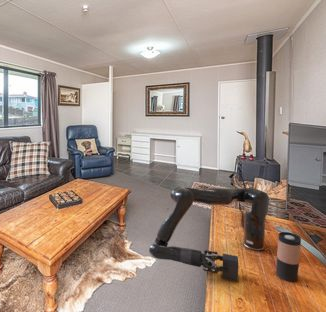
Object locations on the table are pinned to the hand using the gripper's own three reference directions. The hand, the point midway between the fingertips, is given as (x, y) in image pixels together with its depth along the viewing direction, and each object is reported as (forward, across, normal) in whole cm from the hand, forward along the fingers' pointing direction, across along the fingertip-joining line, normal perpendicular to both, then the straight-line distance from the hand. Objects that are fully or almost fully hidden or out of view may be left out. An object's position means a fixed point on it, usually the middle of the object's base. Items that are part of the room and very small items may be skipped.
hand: (228, 264), depth 106 cm
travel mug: (+23, +10, +6) cm, 26 cm away
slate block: (+1, 0, +6) cm, 6 cm away
